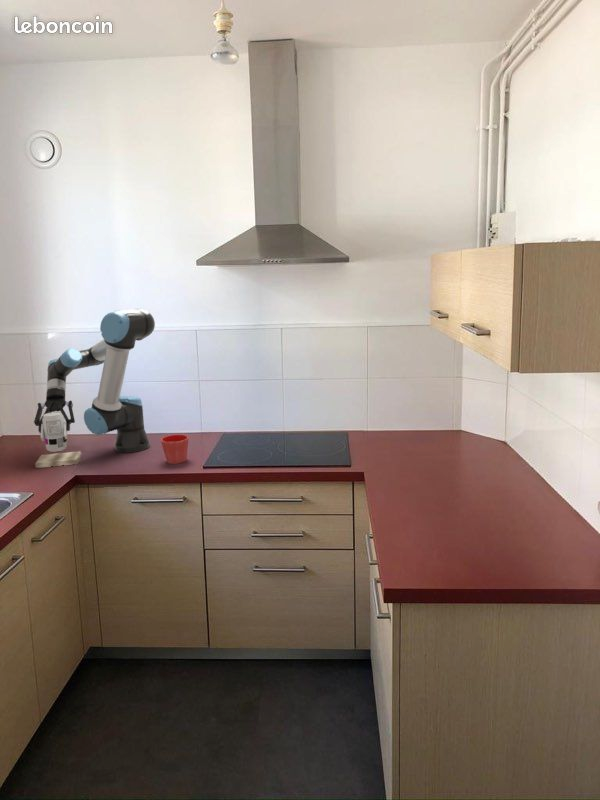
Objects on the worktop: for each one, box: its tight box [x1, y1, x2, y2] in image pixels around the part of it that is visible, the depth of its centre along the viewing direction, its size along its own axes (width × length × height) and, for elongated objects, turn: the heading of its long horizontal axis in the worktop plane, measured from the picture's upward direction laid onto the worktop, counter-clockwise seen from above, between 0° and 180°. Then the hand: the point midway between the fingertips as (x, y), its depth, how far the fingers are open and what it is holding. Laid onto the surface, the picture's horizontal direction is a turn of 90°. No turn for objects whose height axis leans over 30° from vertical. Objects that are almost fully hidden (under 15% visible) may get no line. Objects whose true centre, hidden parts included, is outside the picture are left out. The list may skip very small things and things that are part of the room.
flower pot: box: [160, 434, 189, 465], centre depth 251 cm, size 11×11×10 cm
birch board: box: [34, 451, 82, 469], centre depth 257 cm, size 16×12×2 cm
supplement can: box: [42, 411, 68, 453], centre depth 255 cm, size 8×8×15 cm
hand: (53, 438), depth 252 cm, fingers closed on supplement can, 8 cm apart
